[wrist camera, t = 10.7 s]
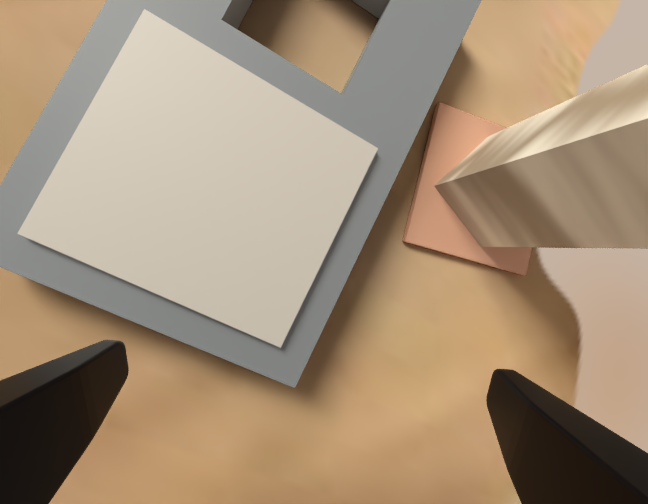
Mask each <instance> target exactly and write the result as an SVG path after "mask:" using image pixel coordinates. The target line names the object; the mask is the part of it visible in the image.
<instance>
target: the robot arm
mask: <svg viewBox="0 0 648 504" xmlns="http://www.w3.org/2000/svg"><path fill="white" fill-rule="evenodd" d="M127 376H128V362H127V355H126V349H125V345H124V343H123V342H121V341H115V340H103V341H101V342H98V343H96V344H93V345H90V346H88V347H85V348H83V349H80V350H78V351H75V352H73V353H70V354H67V355H65V356H62V357H60V358H57V359H55V360H52V361H49V362H47V363H44V364H42V365H39V366H37V367H34V368H32V369H29V370H26V371H24V372H21V373H19V374H16V375H14V376H11V377H8V378H6V379H3V380H1V381H0V504H49V502H50V501H51V499H52V498H53V496H54V495H55V494H56V492H57V491H58V489H59V488H60V486H61V485H62V483H63V482H64V480H65V479H66V478H67V476H68V475H69V473H70V472H71V470H72V469H73V467H74V466H75V464H76V463H77V461H78V460H79V459H80V457H81V456H82V454H83V453H84V451H85V450H86V448H87V447H88V445H89V444H90V442H91V441H92V439H93V438H94V436H95V434H96V433H97V431H98V429H99V428H100V426H101V424H102V422H103V420H104V419H105V417H106V415H107V413H108V411H109V410H110V408H111V406H112V404H113V402H114V401H115V399H116V397H117V395H118V394H119V392H120V390H121V388H122V386H123V385H124V383H125V381H126V379H127ZM487 407H488V411H489V414H490V417H491V420H492V423H493V426H494V429H495V433H496V436H497V439H498V442H499V445H500V448H501V451H502V455H503V458H504V461H505V464H506V467H507V470H508V472H509V475H510V477H511V480H512V482H513V485H514V487H515V489H516V492H517V494H518V496H519V499H520V501H521V503H522V504H648V453H646V452H645V451H643V450H642V449H640V448H638V447H637V446H635V445H633V444H632V443H630V442H629V441H627V440H625V439H624V438H622V437H620V436H619V435H617V434H616V433H614V432H613V431H611V430H609V429H608V428H606V427H604V426H603V425H601V424H600V423H598V422H596V421H595V420H593V419H592V418H590V417H588V416H587V415H585V414H584V413H582V412H580V411H579V410H577V409H576V408H574V407H572V406H571V405H569V404H567V403H566V402H564V401H563V400H561V399H559V398H558V397H556V396H555V395H553V394H551V393H550V392H548V391H547V390H545V389H543V388H542V387H540V386H538V385H537V384H535V383H534V382H532V381H530V380H529V379H527V378H526V377H524V376H522V375H521V374H519V373H518V372H516V371H514V370H508V369H496V370H494V372H493V374H492V378H491V382H490V386H489V390H488V394H487Z"/></svg>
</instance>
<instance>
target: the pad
mask: <svg viewBox="0 0 648 504" xmlns="http://www.w3.org/2000/svg"><path fill="white" fill-rule="evenodd" d="M504 129H506V127H504V126H501V125H498V124H496V123H493V122H491V121H488V120H485V119H483V118H480V117H478V116H475V115H472V114H470V113H467V112H465V111H462V110H460V109H457V108H454V107H452V106H449V105H447V104H444V103H441V102H439V103H438V104H437V105H436V108H435V112H434V116H433V120H432V124H431V128H430V132H429V136H428V140H427V144H426V148H425V152H424V157H423V161H422V165H421V169H420V173H419V177H418V181H417V185H416V189H415V193H414V197H413V201H412V205H411V209H410V213H409V217H408V221H407V225H406V229H405V233H404V237H403V242H406V243H410V244H414V245H417V246H421V247H424V248H428V249H431V250H435V251H438V252H442V253H445V254H449V255H452V256H456V257H459V258H463V259H466V260H470V261H474V262H477V263H481V264H484V265H488V266H491V267H495V268H498V269H502V270H505V271H509V272H512V273H516V274H519V275H526V273H527V269H528V264H529V260H530V256H531V252H532V247H480V245H479V244H478V243H477V241H476V240H475V239H474V238H473V236H472V235H471V234H470V232H469V231H468V230H467V228H466V227H465V226H464V224H463V223H462V222H461V220H460V219H459V218H458V216H457V215H456V214H455V213H454V211H453V210H452V209H451V207H450V206H449V205H448V203H447V202H446V201H445V199H444V198H443V197H442V195H441V194H440V193H439V191H438V190H437V189H436V188H435V185H436V184H437V183H438V182H439V181H440V180H441V179H442V178H443V177H444V176H446V175H447V174H448V173H449V172H450V171H451V170H452V169H453V168H454V167H455V166H457V165H458V164H459V163H460V162H461V161H462V160H463V159H464V158H465V157H466V156H467V155H469V154H470V153H471V152H472V151H473V150H474V149H475V148H476V147H477V146H478V145H479V144H481V143H482V142H483V141H484V140H485V139H486V138H487V137H488V136H490V135H492V134H495V133H497V132H499V131H501V130H504Z"/></svg>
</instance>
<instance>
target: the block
mask: <svg viewBox="0 0 648 504" xmlns="http://www.w3.org/2000/svg"><path fill="white" fill-rule="evenodd" d="M435 188H436V189H437V190H438V191H439V193H440V194H441V195H442V197H443V198H444V199H445V201H446V202H447V203H448V205H449V206H450V207H451V209H452V210H453V211H454V213H455V214H456V215H457V216H458V218H459V219H460V220H461V222H462V223H463V224H464V226H465V227H466V228H467V230H468V231H469V232H470V234H471V235H472V236H473V238H474V239H475V240H476V241H477V243H478V244H479V245H480V247H549V248H550V247H552V248H553V247H555V248H641V249H645V248H646V249H647V248H648V64H647V65H645V66H643V67H640V68H638V69H636V70H634V71H632V72H630V73H627V74H625V75H623V76H621V77H618V78H616V79H614V80H612V81H610V82H607V83H605V84H603V85H601V86H599V87H596V88H594V89H592V90H590V91H588V92H585V93H583V94H581V95H579V96H576V97H574V98H572V99H570V100H568V101H565V102H563V103H561V104H559V105H557V106H554V107H552V108H550V109H548V110H545V111H543V112H541V113H539V114H537V115H534V116H532V117H530V118H528V119H526V120H523V121H521V122H519V123H517V124H515V125H512V126H510V127H508V128H506V129H504V130H501V131H499V132H497V133H495V134H492V135H490V136H488V137H487V138H486V139H485V140H484V141H483V142H482V143H481V144H479V145H478V146H477V147H476V148H475V149H474V150H473V151H472V152H471V153H470V154H469V155H467V156H466V157H465V158H464V159H463V160H462V161H461V162H460V163H459V164H458V165H457V166H455V167H454V168H453V169H452V170H451V171H450V172H449V173H448V174H447V175H446V176H444V177H443V178H442V179H441V180H440V181H439V182H438V183H437V184H436V185H435Z"/></svg>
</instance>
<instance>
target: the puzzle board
mask: <svg viewBox="0 0 648 504" xmlns="http://www.w3.org/2000/svg"><path fill="white" fill-rule="evenodd" d="M252 1H253V0H107V1H106V3H105V4H104V6H103V8H102V9H101V11H100V13H99V15H98V16H97V18H96V20H95V22H94V23H93V25H92V27H91V29H90V30H89V32H88V34H87V36H86V37H85V39H84V41H83V42H82V44H81V46H80V48H79V49H78V51H77V53H76V55H75V56H74V58H73V60H72V62H71V63H70V65H69V67H68V69H67V70H66V72H65V74H64V75H63V77H62V79H61V81H60V82H59V84H58V86H57V88H56V89H55V91H54V93H53V95H52V96H51V98H50V100H49V102H48V103H47V105H46V107H45V108H44V110H43V112H42V114H41V115H40V117H39V119H38V121H37V122H36V124H35V126H34V128H33V129H32V131H31V133H30V134H29V136H28V138H27V140H26V141H25V143H24V145H23V147H22V148H21V150H20V152H19V154H18V155H17V157H16V159H15V161H14V162H13V164H12V166H11V167H10V169H9V171H8V173H7V174H6V176H5V178H4V180H3V181H2V183H1V185H0V267H1V268H4V269H6V270H8V271H11V272H13V273H16V274H18V275H21V276H23V277H26V278H28V279H30V280H33V281H35V282H38V283H40V284H43V285H45V286H47V287H50V288H52V289H55V290H57V291H60V292H62V293H64V294H67V295H69V296H72V297H74V298H77V299H79V300H81V301H84V302H86V303H89V304H91V305H94V306H96V307H98V308H101V309H103V310H106V311H108V312H111V313H113V314H115V315H118V316H120V317H123V318H125V319H128V320H130V321H132V322H135V323H137V324H140V325H142V326H145V327H147V328H149V329H152V330H154V331H157V332H159V333H162V334H164V335H166V336H169V337H171V338H174V339H176V340H179V341H181V342H183V343H186V344H188V345H191V346H193V347H196V348H198V349H200V350H203V351H205V352H208V353H210V354H213V355H215V356H217V357H220V358H222V359H225V360H227V361H230V362H232V363H234V364H237V365H239V366H242V367H244V368H247V369H249V370H251V371H254V372H256V373H259V374H261V375H264V376H266V377H269V378H271V379H273V380H276V381H278V382H281V383H283V384H286V385H288V386H290V387H293V388H295V387H296V385H297V383H298V381H299V378H300V376H301V374H302V372H303V370H304V368H305V366H306V364H307V362H308V360H309V358H310V356H311V353H312V351H313V349H314V347H315V345H316V343H317V341H318V339H319V337H320V335H321V333H322V331H323V329H324V326H325V324H326V322H327V320H328V318H329V316H330V314H331V312H332V310H333V308H334V306H335V304H336V301H337V299H338V297H339V295H340V293H341V291H342V289H343V287H344V285H345V283H346V281H347V279H348V277H349V274H350V272H351V270H352V268H353V266H354V264H355V262H356V260H357V258H358V256H359V254H360V252H361V250H362V247H363V245H364V243H365V241H366V239H367V237H368V235H369V233H370V231H371V229H372V227H373V225H374V222H375V220H376V218H377V216H378V214H379V212H380V210H381V208H382V206H383V204H384V202H385V200H386V198H387V195H388V193H389V191H390V189H391V187H392V185H393V183H394V181H395V179H396V177H397V175H398V173H399V171H400V168H401V166H402V164H403V162H404V160H405V158H406V156H407V154H408V152H409V150H410V148H411V146H412V143H413V141H414V139H415V137H416V135H417V133H418V131H419V129H420V127H421V125H422V123H423V121H424V119H425V116H426V114H427V112H428V110H429V108H430V106H431V104H432V102H433V100H434V98H435V96H436V94H437V92H438V89H439V87H440V85H441V83H442V81H443V79H444V77H445V75H446V73H447V71H448V69H449V67H450V64H451V62H452V60H453V58H454V56H455V54H456V52H457V50H458V48H459V46H460V44H461V42H462V40H463V37H464V35H465V33H466V31H467V29H468V27H469V25H470V23H471V21H472V19H473V17H474V15H475V13H476V10H477V8H478V6H479V4H480V2H481V0H352V1H353V2H355V3H356V4H358V5H359V6H361V7H362V8H363V9H365V10H366V11H368V12H369V13H371V14H372V15H374V16H375V17H377V18H378V19H379V20H378V22H377V24H376V26H375V28H374V30H373V32H372V34H371V36H370V38H369V40H368V42H367V44H366V46H365V48H364V50H363V52H362V54H361V56H360V58H359V60H358V62H357V64H356V66H355V68H354V69H353V71H352V73H351V75H350V77H349V79H348V81H347V83H346V85H345V87H344V89H343V91H342V93H339V92H338V91H336V90H334V89H333V88H331V87H330V86H328V85H326V84H325V83H323V82H321V81H320V80H318V79H317V78H315V77H313V76H312V75H310V74H309V73H307V72H305V71H304V70H302V69H300V68H299V67H297V66H296V65H294V64H292V63H291V62H289V61H287V60H286V59H284V58H283V57H281V56H279V55H278V54H276V53H275V52H273V51H271V50H270V49H268V48H266V47H265V46H263V45H262V44H260V43H258V42H257V41H255V40H254V39H252V38H250V37H249V36H247V35H245V34H244V33H242V32H241V31H239V30H237V29H238V27H239V25H240V24H241V22H242V20H243V18H244V16H245V14H246V12H247V11H248V9H249V7H250V5H251V3H252Z"/></svg>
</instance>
